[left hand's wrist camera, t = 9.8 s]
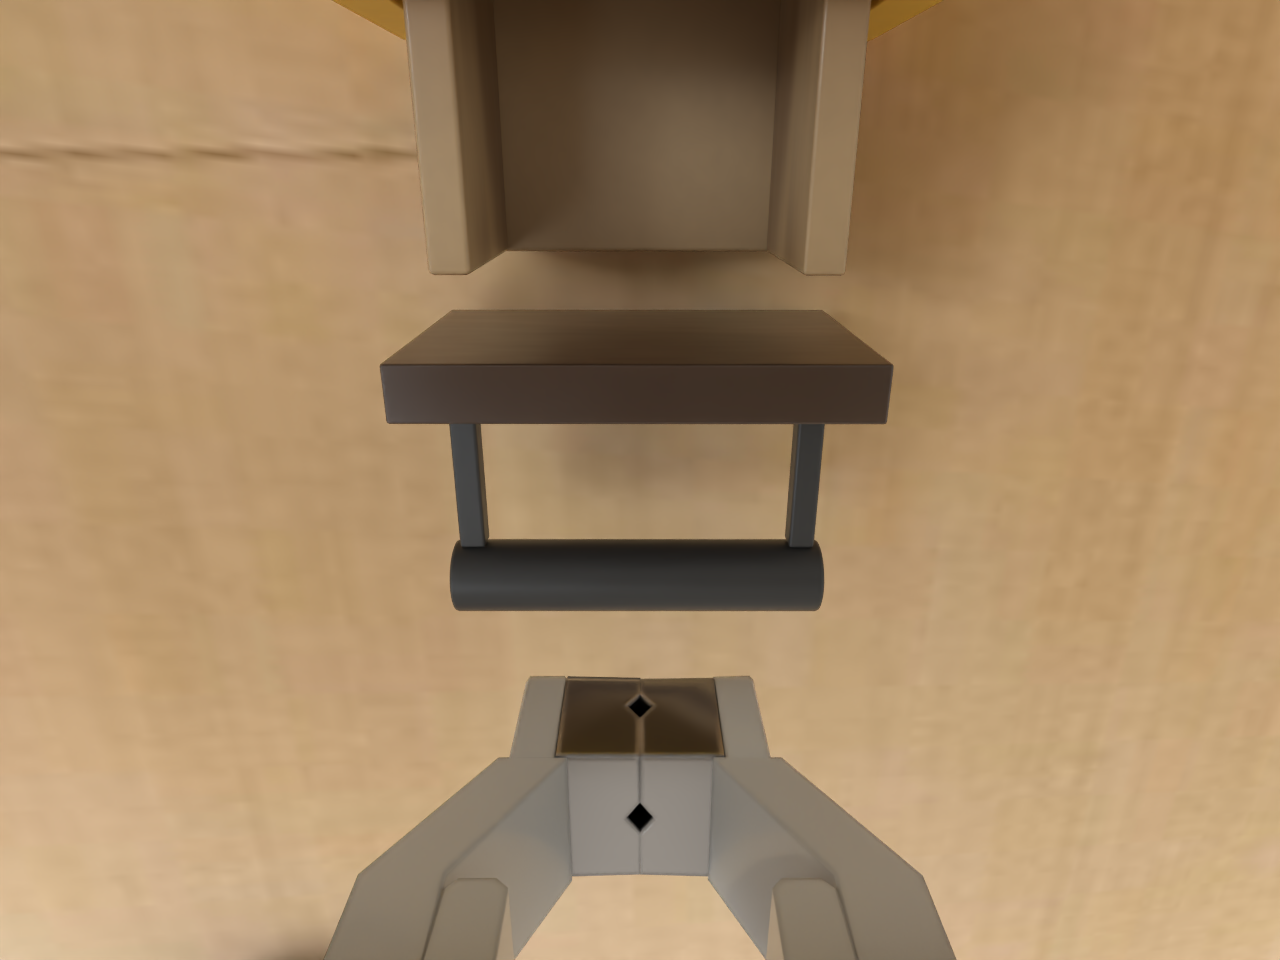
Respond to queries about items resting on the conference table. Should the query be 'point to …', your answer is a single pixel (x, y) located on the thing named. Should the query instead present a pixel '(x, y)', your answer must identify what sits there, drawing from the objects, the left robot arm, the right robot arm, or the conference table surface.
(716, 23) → the drawer
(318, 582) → the conference table surface
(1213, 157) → the conference table surface
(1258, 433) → the conference table surface
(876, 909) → the left robot arm
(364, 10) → the cabinet
